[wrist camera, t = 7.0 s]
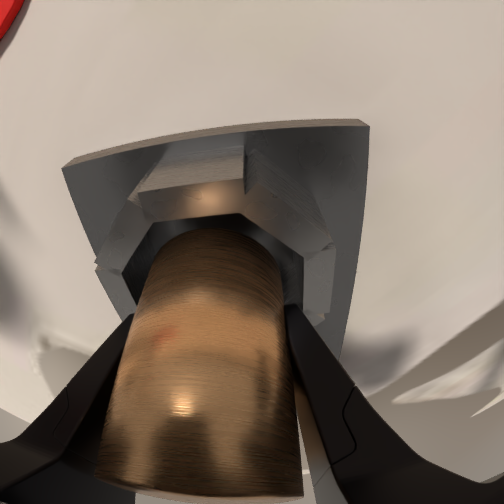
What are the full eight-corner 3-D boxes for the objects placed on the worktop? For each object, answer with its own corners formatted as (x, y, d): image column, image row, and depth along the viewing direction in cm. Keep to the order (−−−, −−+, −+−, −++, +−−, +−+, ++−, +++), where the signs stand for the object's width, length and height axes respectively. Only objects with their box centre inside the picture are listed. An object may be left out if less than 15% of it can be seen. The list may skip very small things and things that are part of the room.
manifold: (74, 157, 11) (-51, 283, 4) (358, 119, 10) (501, 235, 4) (176, 380, 22) (165, 476, 15) (329, 371, 21) (346, 469, 15)
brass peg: (283, 320, 11) (299, 502, 6) (171, 327, 12) (145, 496, 6) (277, 220, 9) (312, 485, 3) (134, 235, 9) (50, 457, 3)
